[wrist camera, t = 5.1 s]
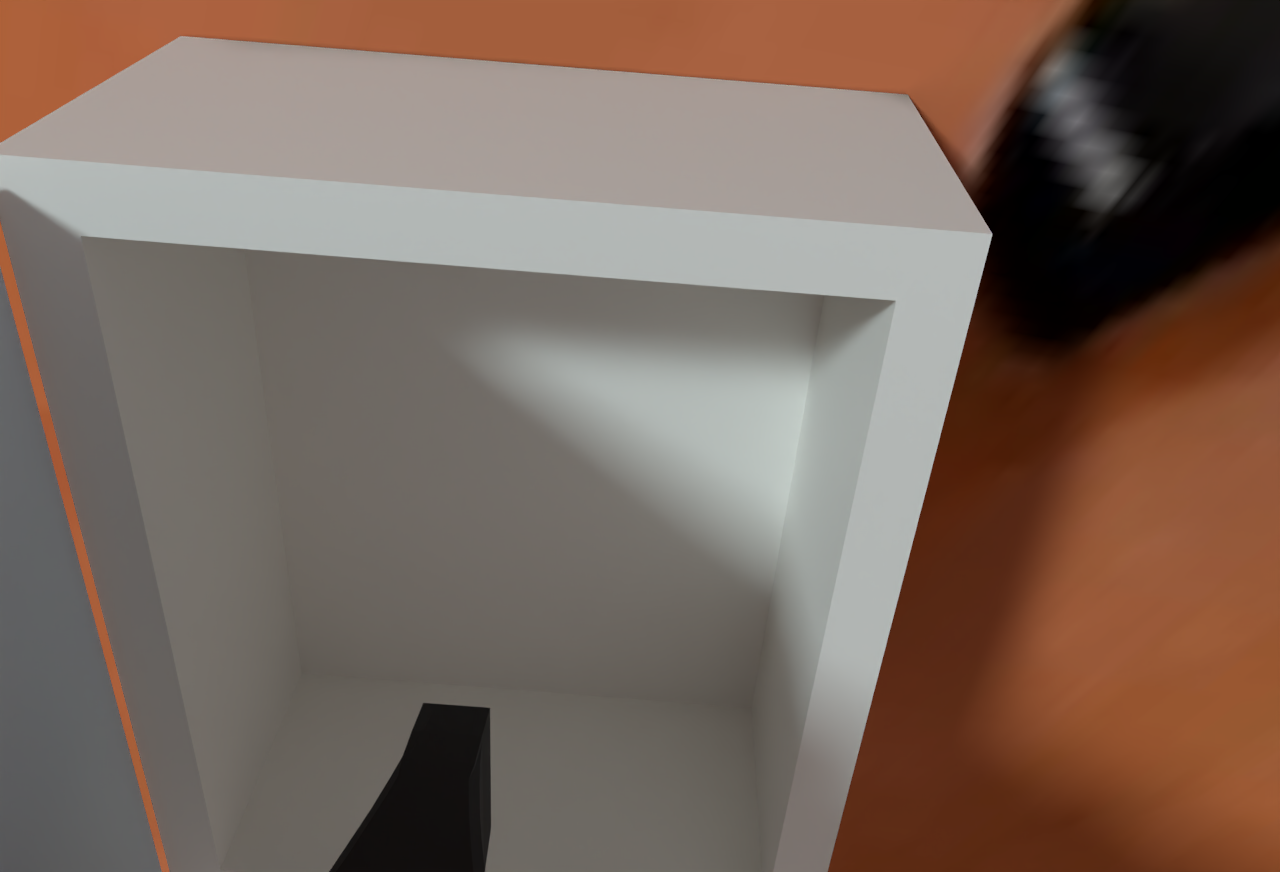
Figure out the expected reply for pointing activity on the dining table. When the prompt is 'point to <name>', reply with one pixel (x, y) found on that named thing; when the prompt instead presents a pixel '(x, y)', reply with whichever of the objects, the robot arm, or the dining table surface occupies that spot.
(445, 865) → the robot arm
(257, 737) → the carton
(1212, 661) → the dining table surface
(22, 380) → the carton flap
